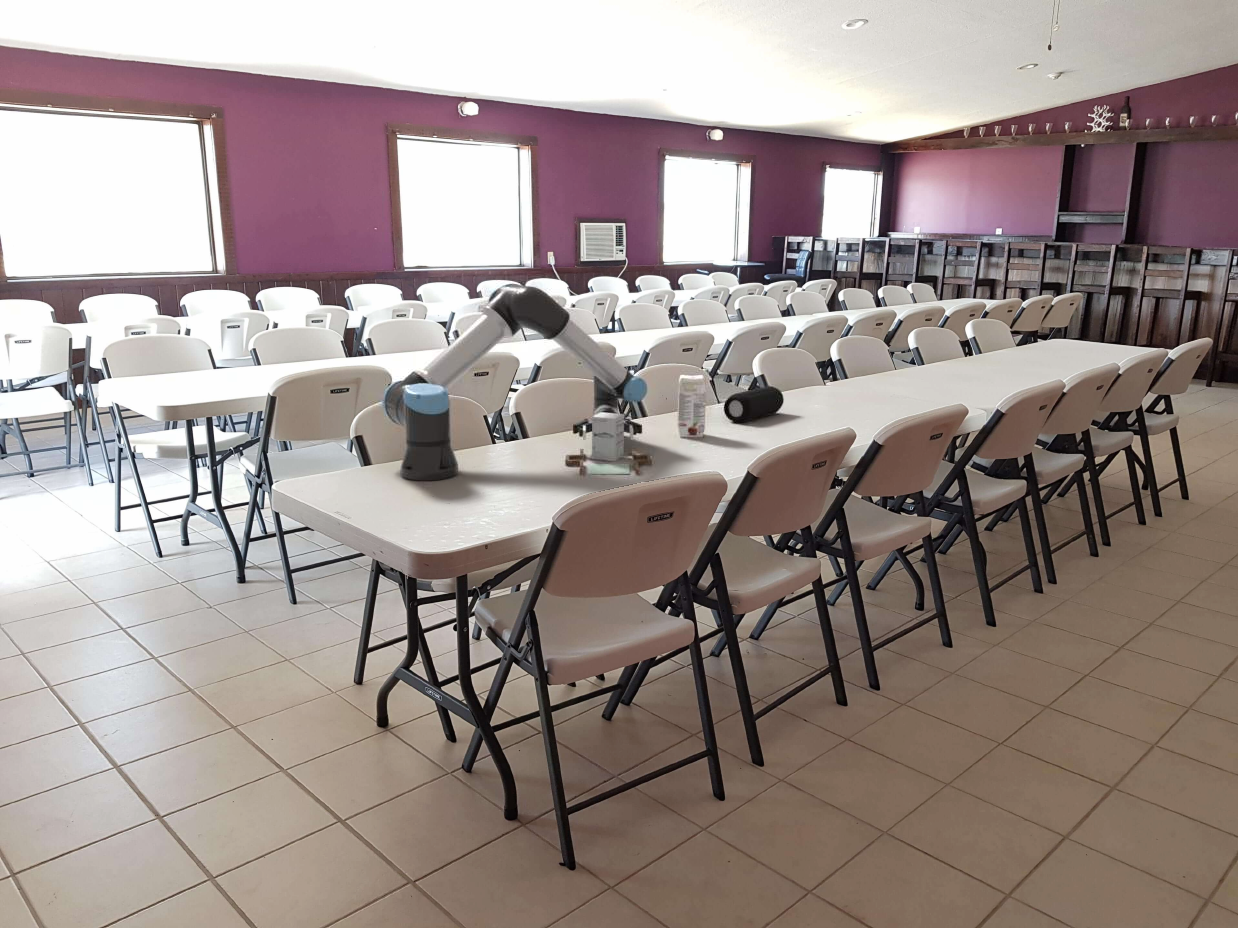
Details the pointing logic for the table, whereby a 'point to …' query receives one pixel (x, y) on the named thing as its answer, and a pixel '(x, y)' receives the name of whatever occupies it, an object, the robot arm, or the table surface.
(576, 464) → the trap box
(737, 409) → the portable speaker
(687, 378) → the juice carton
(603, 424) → the supplement box
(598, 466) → the pad
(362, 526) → the table surface
